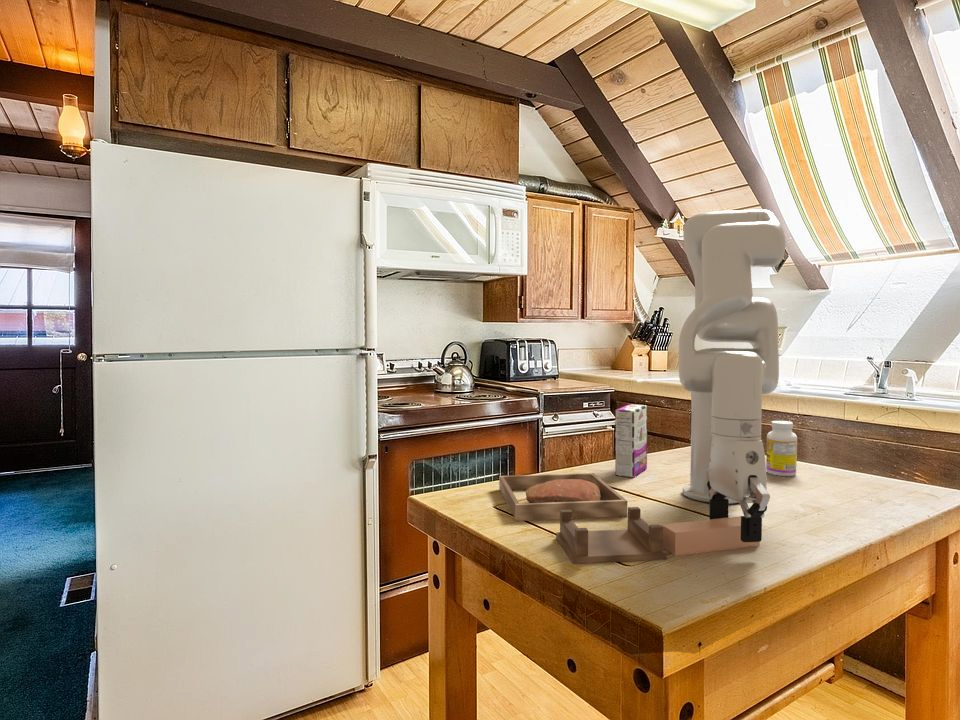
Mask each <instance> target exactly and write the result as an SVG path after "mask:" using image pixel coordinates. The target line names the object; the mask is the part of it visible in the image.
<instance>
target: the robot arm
mask: <svg viewBox="0 0 960 720" xmlns="http://www.w3.org/2000/svg"><path fill="white" fill-rule="evenodd" d="M682 232H683V235H682V236H683V245H684V246H683V247H684V250H685V254H686V255H685V256H686V257H687V260H688V263H689V265H690V268H691V271H692V273H693V278H694V309H693V311H692V312H690V314H688V316H687V318H686V319H685V321H684V323H683V324H682V325H683V326H682V327H681V330H680V334H679V338H678V377H679V381H680V385H681V386H682V387H683V389H685V390H686V391H688V392H690V398H691V399H690V401H691V406H690V407H691V408H690V409H691V414H690V415H691V417H690V418H691V425H690V428H691V429H690V430H691V431H690V433H691V434H690V475H689V476H690V477H689V479H690V483H689V484H686V485H684V486H683V487H682V494H683V495H684V496H685V497H687V498H689V499H692V500H695V501H698V502H702V503H703V502H704V503H709V514H708V515H709V517H708V518H709V519H708V520H710V519H719V518H729V509H730V508H729V505H731V504H738V503H739V507H740V508H741V511H742V514H743V515H740V516H741V541H743V542H761V541H762V536H763V535H762V533H763V531H762V530H763V518H765V513H766V511H767V509H768V505H769V501H770V499H771V495H770V494H769V492H768V490H767V488H768V487H767V471H766V454H765V447H764V444H763V440H762V412H763V411H762V408H763V403H762V402H763V395H767V394H770V393H771V394H772V393H773V392H774V391H775V390H776V389H777V387H778V384H779V375H780V370H779V369H780V367H779V366H780V361H779V360H780V359H779V358H780V357H779V321H778V313H777V309H776V306H775V304H774V302H773V301H772V300H770V299H768V298H765V297H758V296H756V297H755V296H753V283H752V282H753V281H752V268H771V267H776V266H778V265H780V263H781V262H782V261H783V259H784V257H785V252H786V236H785V232H784V228H783V226H782V224H781V223H780V221H779V219H778V218H777V217H776V216H775V214H774V213H773V212H772V211H770V210H768V209H748V210H747V209H744V210H723V211H720V210H719V211H709V212H701V213H697V214H695V215H692V216H691V217H689V218H687V220H686V221H685V223H684V226H683V231H682ZM696 336H697V337H698V338H699V339H700V340H701V341H703V342H704V341H705V342H711V343H748V344H750V345H751V347H752V348H741V347H740V348H738V347H737V348H734V347H710V348H701V349H699V350H696V349H695V341H696ZM749 504H751V506H749Z"/></svg>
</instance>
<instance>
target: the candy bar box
mask: <svg viewBox="0 0 960 720" xmlns="http://www.w3.org/2000/svg"><path fill="white" fill-rule="evenodd" d="M647 415H648V406H647V405H646V404H645V405H644V404H634V403H633V404H631V403H629V404H627V405H624V406H622V407H620V408H619V407H618V408H617V409H615V411H614V421H615V422H614V424H615V425H614V428H615V430H614V438H615V440H614V441H615V445H614V446H615V449H614V450H615V452H614V454H615V457H614V458H615V459H614V460H615V463H614V464H615V467H614V468H615V476H616V475H620V476H619V477H622V476H627V477H626V478H631V477H633V478H632V479H634V478H636V477H637V476H639V475H640V474H641V473H642V472H644V471H646V469H648V457H647V456H648V450H647V449H648V448H647V447H648V444H647V443H648V428H647V427H648V424H647V423H648V416H647ZM639 473H640V474H639ZM635 476H636V477H635Z"/></svg>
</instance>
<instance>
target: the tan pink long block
mask: <svg viewBox="0 0 960 720" xmlns="http://www.w3.org/2000/svg"><path fill="white" fill-rule="evenodd" d="M741 516H742V515H740V516H730V517H729V516H728V518H719V519H710V520H709V519H701V520H694V521H693V520H691V521H682V522H674V523H663V524H660V525H661V526H662V527H663V550H665V551H666V552H668V553H670V554H672V555H674V556H675V557H676V556H686V555H693V554H700V553H701V554H702V553H708V552H716V551H725V550H733V549H742V547H743V548H749V546H751V547H757V546H756V545H759V546H760V544H761V543H760V542H761V541H760V542H743V541H741Z"/></svg>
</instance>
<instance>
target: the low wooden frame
mask: <svg viewBox="0 0 960 720" xmlns="http://www.w3.org/2000/svg"><path fill="white" fill-rule="evenodd" d="M498 479H499V480H498V481H499V483H498V485H499V489H500V490H499V492H500V493H501V495H502V498H503V499H504V500H505V503H506V504H507V507H508V508H509V510H510V511H511V514H512V516H513V518H514V520H515V521H516V522H517V521H518V522H519V521H521V522H522V521H541V520H542V521H544V520H547V521H548V520H560V510H571V511H572V518H574V519H591V518H594V519H595V518H596V519H597V518H615V517H617V518H619V516H624V517H628V500H627V499H626V498H624V497H623V496H622V495H621V494H619V493H618V492H617V491H616V490H615V489H614V488H613V487H612V486H609V484H607V483H606V482H605V481H604V480H602V479H601V478H600V477H599V476H598V475H596V473H594V472H584V473H579V472H578V473H555V474H554V473H550V474H548V473H547V474H525V475H524V474H523V475H520V474H519V475H499V477H498ZM561 479H581V480H586V481H589V482H592V483H594V484H595V485H596V486H597V487H598V488H599V490H600V498H602V499H603V500H600V501H578V502H551V503H529V502H528V503H527V502H525V503H520V502H519V500H518V498H517V497H516V495H515V493H514V492H513V490H514V489H520V490H527V489H528V488H530V487H532V486H535V485H537V484H541V483H544V482H547V481H552V480H561ZM512 489H513V490H512ZM514 491H515V490H514ZM604 499H605V500H604Z"/></svg>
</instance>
